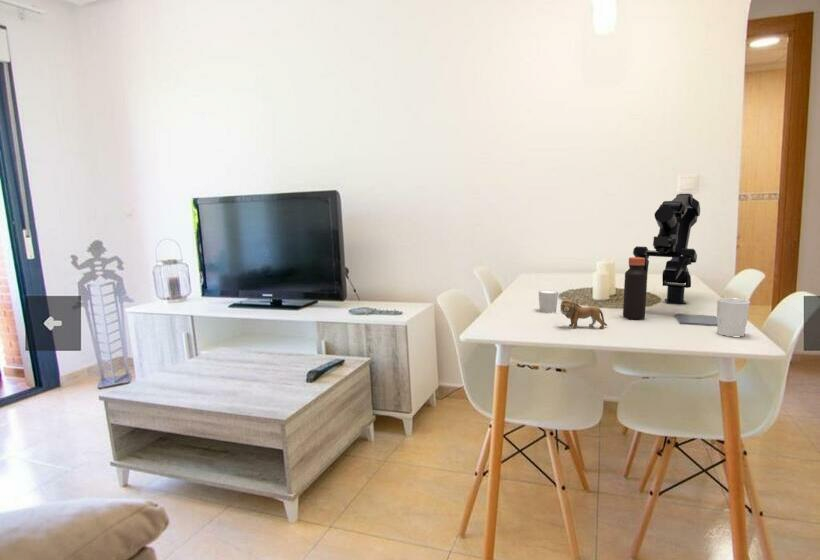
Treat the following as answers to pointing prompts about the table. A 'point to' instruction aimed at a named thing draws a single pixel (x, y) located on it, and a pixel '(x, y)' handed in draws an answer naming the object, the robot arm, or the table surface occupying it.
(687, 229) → the robot arm
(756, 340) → the table surface
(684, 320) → the slate coaster
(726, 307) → the white cup
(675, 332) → the table surface
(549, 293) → the ribbed white pot
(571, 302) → the lion figurine
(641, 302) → the vinegar
